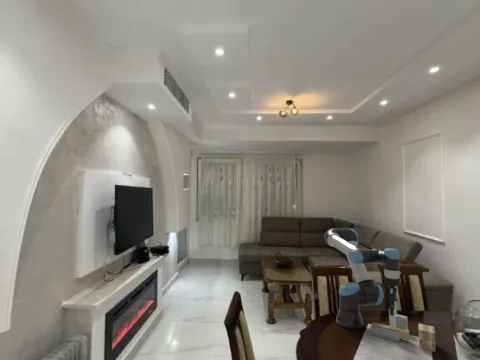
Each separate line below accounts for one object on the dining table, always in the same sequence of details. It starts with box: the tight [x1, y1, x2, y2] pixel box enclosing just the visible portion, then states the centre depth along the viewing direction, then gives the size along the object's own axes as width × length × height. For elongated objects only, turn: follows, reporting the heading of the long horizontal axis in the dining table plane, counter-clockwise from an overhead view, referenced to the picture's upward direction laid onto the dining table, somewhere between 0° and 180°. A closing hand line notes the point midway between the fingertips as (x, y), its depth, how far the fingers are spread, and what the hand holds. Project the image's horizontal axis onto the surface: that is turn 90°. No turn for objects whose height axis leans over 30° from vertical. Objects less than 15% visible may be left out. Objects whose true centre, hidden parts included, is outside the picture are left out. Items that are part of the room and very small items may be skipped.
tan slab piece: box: [371, 309, 410, 342], centre depth 160 cm, size 18×4×14 cm, turn 59°
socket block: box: [418, 323, 436, 353], centre depth 151 cm, size 7×9×9 cm
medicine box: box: [396, 313, 409, 330], centre depth 168 cm, size 8×4×9 cm, turn 47°
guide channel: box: [369, 321, 401, 343], centre depth 161 cm, size 14×7×5 cm, turn 59°
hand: (393, 317), depth 160 cm, fingers open, 13 cm apart
